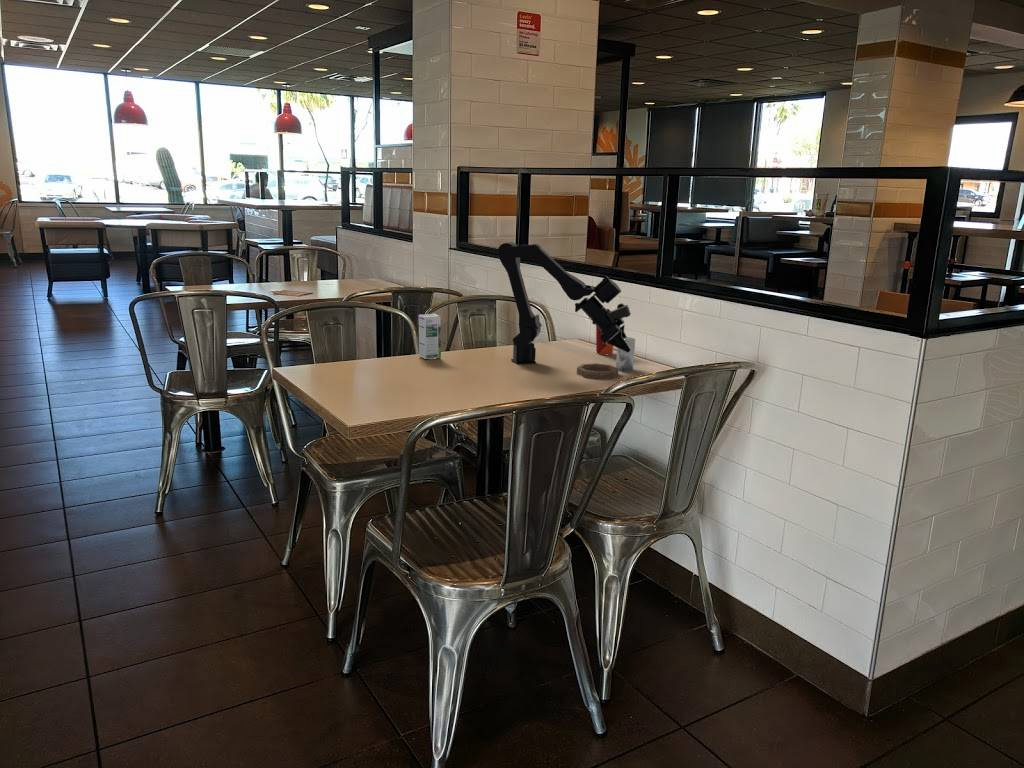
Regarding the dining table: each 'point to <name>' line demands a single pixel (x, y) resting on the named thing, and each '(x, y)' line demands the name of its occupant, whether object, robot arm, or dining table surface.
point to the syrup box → (430, 336)
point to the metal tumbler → (626, 356)
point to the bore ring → (604, 369)
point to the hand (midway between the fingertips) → (630, 349)
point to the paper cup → (602, 344)
